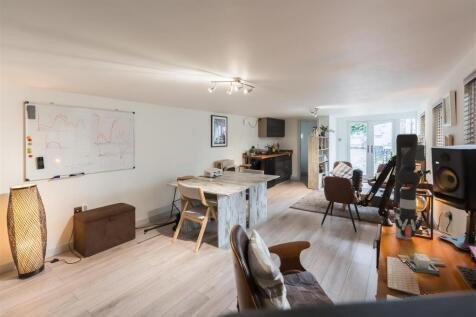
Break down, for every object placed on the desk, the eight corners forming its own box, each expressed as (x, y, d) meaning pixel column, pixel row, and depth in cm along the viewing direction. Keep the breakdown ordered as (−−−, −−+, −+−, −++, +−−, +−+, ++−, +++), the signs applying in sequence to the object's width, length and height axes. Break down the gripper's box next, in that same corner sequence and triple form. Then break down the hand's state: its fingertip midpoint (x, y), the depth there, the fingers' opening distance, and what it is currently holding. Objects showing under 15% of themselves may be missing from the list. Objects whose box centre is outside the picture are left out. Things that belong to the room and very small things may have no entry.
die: (413, 260, 127) (414, 253, 126) (424, 261, 126) (425, 254, 124) (417, 267, 123) (418, 259, 121) (428, 268, 121) (430, 261, 119)
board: (397, 256, 136) (397, 254, 136) (437, 259, 131) (437, 258, 131) (402, 262, 129) (403, 260, 129) (445, 266, 124) (445, 264, 124)
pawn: (401, 235, 134) (402, 223, 133) (409, 235, 133) (410, 223, 132) (404, 238, 130) (405, 225, 129) (413, 238, 129) (413, 225, 128)
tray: (406, 263, 129) (406, 259, 128) (429, 265, 126) (429, 261, 126) (414, 271, 120) (414, 268, 120) (439, 274, 117) (439, 270, 117)
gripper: (419, 205, 132) (418, 234, 133) (391, 204, 136) (390, 232, 137) (426, 209, 125) (425, 239, 126) (396, 208, 128) (395, 237, 130)
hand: (407, 235), depth 131 cm, fingers closed on pawn, 4 cm apart
